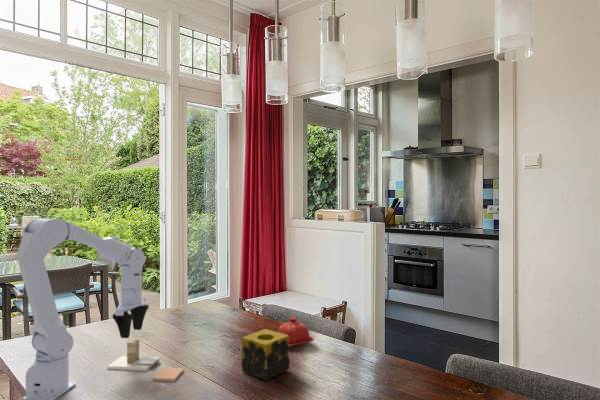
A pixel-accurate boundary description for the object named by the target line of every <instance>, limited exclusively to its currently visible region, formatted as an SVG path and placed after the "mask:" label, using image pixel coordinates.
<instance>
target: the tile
mask: <svg viewBox="0 0 600 400" xmlns="http://www.w3.org/2000/svg"><path fill="white" fill-rule="evenodd" d="M184 370H185V368H183V367H163V368H161V369H160V371H159V372H157V374H155V375H154V377H153V378H152V382H168V383H169V382H173V383H174V382H176V381H177V379H179V377H180V376H181V374H183V373H184Z"/></svg>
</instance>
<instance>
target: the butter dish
mask: <svg viewBox="0 0 600 400" xmlns="http://www.w3.org/2000/svg"><path fill="white" fill-rule="evenodd" d="M297 320H298V318H297V317H295V316H293V317H290V318H289V321H287V322H284V323H282V324H281V325H279V327H278V331H277V332H278V333H281V334H285V335H288V336H289V340H288V346H289V347H293V346H299V345H304V344H307V343H310V342H313V341H315V339H314V338H313V337H312V336H310V333H309V329H308V327H307V325H306V324H304V323H303V322H301V321H297Z"/></svg>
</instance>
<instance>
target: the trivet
mask: <svg viewBox="0 0 600 400" xmlns="http://www.w3.org/2000/svg"><path fill="white" fill-rule="evenodd" d="M140 357H141V356H139V358H140ZM153 366H154V365H133V363H127V355H121V356H119V357H118V358H116V359H115V360H114V361H113V362H111V363H109V364H108V365H107V366H106V369H107V370H114V369H115V370H116V371H117V370H118V371H119V370H121V371H139V372H140V371H144V372H145V371H149V370H150V369H151V368H152V367H153Z"/></svg>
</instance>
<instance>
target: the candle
mask: <svg viewBox="0 0 600 400" xmlns="http://www.w3.org/2000/svg"><path fill="white" fill-rule="evenodd" d="M288 340H289V336H288V335H285V334H281V333H278V331H275V330H270V329H269V328H268V329H267V328H263V329H262V330H258V331H256V332H254V333H250V334H248V335H245V336H243V337H241V346H242V347H241V348H242V349H241V354H242V355H241V367H242V368H241V370H242V372H243V373H246V374H249V375H250V376H254V377H257V378H259V379H262V380H264V381H268V380H270V379H271V378H273V377H276V376H278V375H279V374H282V373H283V372H286V371H288V370H289V369H290V365H289V364H290V353H289V348H290V346H288Z"/></svg>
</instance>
